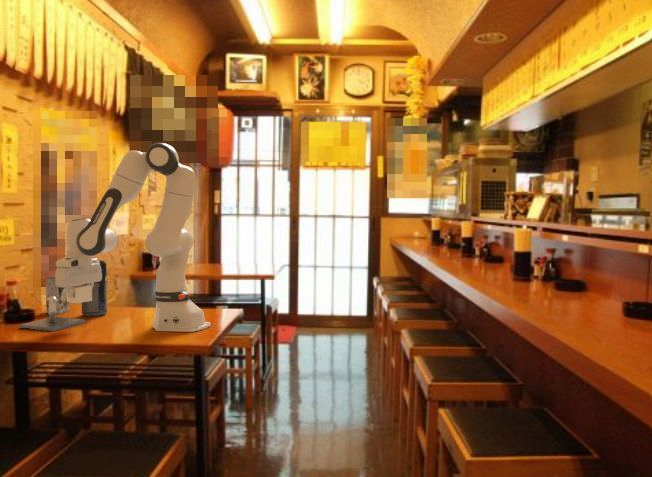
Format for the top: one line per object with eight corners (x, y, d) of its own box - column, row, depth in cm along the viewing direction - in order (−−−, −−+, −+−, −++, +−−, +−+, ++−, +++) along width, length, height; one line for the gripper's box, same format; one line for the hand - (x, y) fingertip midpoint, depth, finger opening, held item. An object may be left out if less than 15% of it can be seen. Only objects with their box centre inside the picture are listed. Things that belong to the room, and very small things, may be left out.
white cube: (83, 299, 197) (82, 283, 197) (92, 300, 194) (91, 285, 193) (67, 301, 192) (66, 285, 191) (76, 303, 188) (75, 287, 188)
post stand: (84, 322, 202) (84, 294, 202) (52, 331, 187) (51, 301, 186) (53, 320, 207) (53, 292, 206) (19, 328, 192) (18, 299, 191)
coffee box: (61, 314, 220) (60, 278, 219) (45, 314, 219) (45, 278, 218) (69, 310, 229) (68, 275, 228) (55, 310, 228) (54, 275, 227)
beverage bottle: (95, 318, 210) (93, 260, 209) (75, 315, 217) (74, 258, 215) (115, 314, 219) (114, 258, 218) (96, 311, 225) (95, 256, 224)
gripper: (93, 257, 202) (93, 291, 203) (51, 262, 183) (52, 299, 184) (105, 258, 201) (106, 292, 201) (65, 263, 181) (66, 300, 182)
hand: (80, 296), depth 192 cm, fingers closed on white cube, 7 cm apart
